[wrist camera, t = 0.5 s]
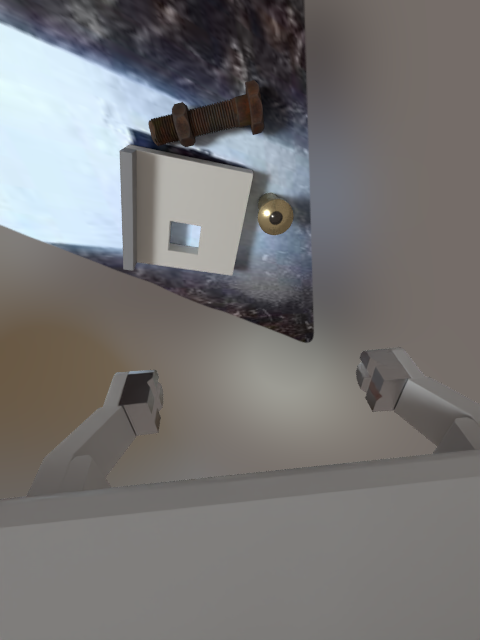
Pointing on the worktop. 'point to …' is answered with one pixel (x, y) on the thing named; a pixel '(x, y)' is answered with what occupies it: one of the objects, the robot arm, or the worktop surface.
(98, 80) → the worktop surface
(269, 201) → the bushing
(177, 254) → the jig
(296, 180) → the worktop surface
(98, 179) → the worktop surface
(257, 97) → the bolt
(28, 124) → the worktop surface
